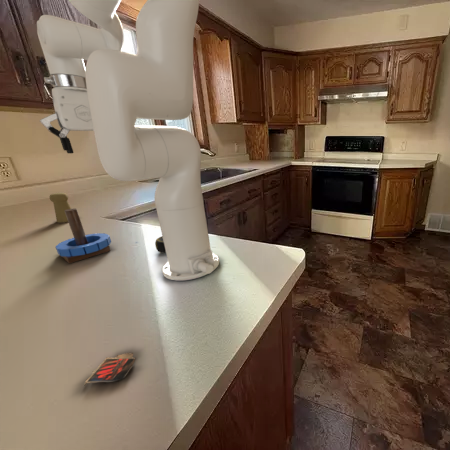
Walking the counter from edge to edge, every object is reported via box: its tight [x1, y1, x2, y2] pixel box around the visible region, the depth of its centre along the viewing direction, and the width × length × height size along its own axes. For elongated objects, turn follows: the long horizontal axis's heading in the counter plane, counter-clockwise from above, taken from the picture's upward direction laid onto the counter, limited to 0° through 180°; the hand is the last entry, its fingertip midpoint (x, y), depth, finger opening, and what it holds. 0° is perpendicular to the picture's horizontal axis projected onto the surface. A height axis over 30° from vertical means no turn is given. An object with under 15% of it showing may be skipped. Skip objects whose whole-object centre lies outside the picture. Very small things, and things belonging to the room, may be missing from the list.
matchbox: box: [83, 352, 136, 387], centre depth 33 cm, size 5×5×1 cm
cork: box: [49, 192, 73, 224], centre depth 96 cm, size 6×6×11 cm
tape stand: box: [61, 208, 111, 264], centre depth 66 cm, size 9×9×12 cm
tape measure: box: [154, 235, 166, 254], centre depth 68 cm, size 7×7×4 cm
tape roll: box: [55, 232, 112, 257], centre depth 68 cm, size 11×11×2 cm
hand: (92, 152), depth 71 cm, fingers open, 9 cm apart
